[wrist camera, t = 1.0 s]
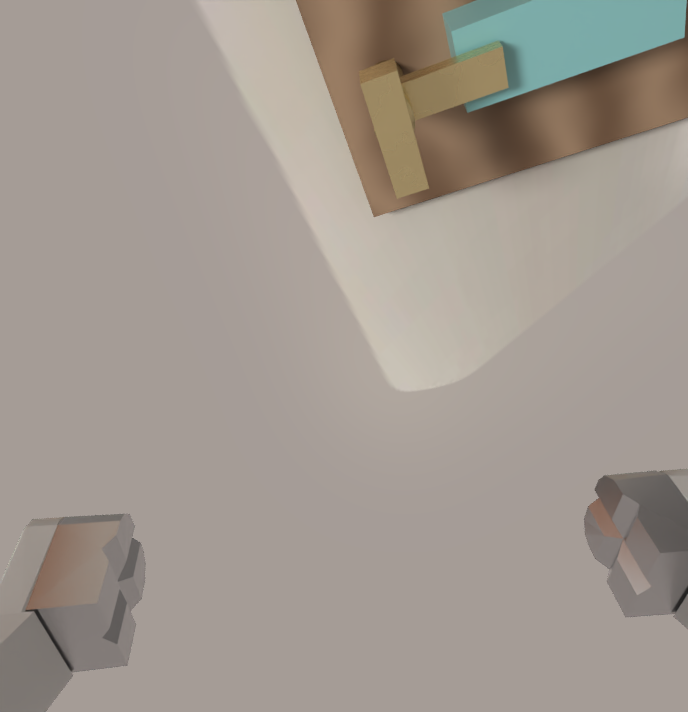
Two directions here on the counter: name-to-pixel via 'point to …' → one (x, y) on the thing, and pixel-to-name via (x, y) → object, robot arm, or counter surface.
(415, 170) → the t key
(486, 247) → the counter surface
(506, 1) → the cover
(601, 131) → the base
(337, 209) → the counter surface
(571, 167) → the counter surface
